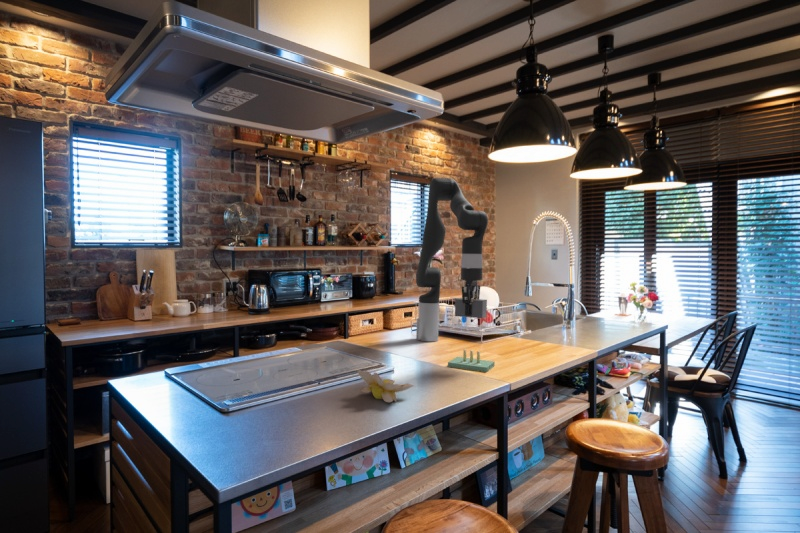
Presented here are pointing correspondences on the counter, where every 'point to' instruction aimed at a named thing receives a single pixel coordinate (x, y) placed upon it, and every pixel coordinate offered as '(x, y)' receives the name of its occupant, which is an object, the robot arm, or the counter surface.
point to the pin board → (471, 363)
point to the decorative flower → (381, 386)
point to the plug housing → (477, 308)
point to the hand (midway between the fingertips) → (470, 314)
